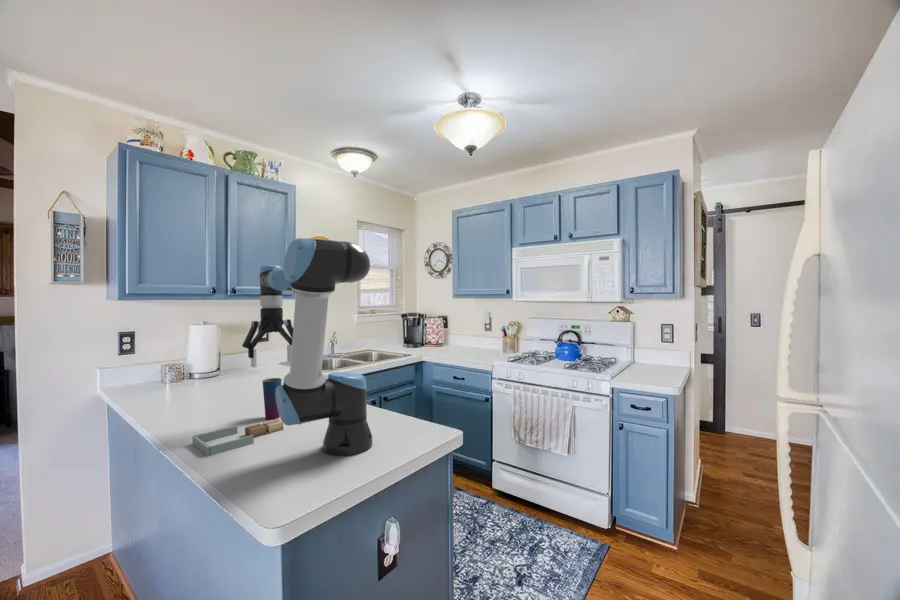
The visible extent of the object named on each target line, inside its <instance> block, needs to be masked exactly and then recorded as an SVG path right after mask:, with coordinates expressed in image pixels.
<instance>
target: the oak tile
mask: <svg viewBox="0 0 900 600" xmlns="http://www.w3.org/2000/svg"><path fill="white" fill-rule="evenodd" d="M262 425H264V426H266V434H269V435H271V434H273V433H277V432H280V431H284V423H283V422H282V420H281V419H278V418H277V419H274V420H267V421H265V422H262Z"/></svg>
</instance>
